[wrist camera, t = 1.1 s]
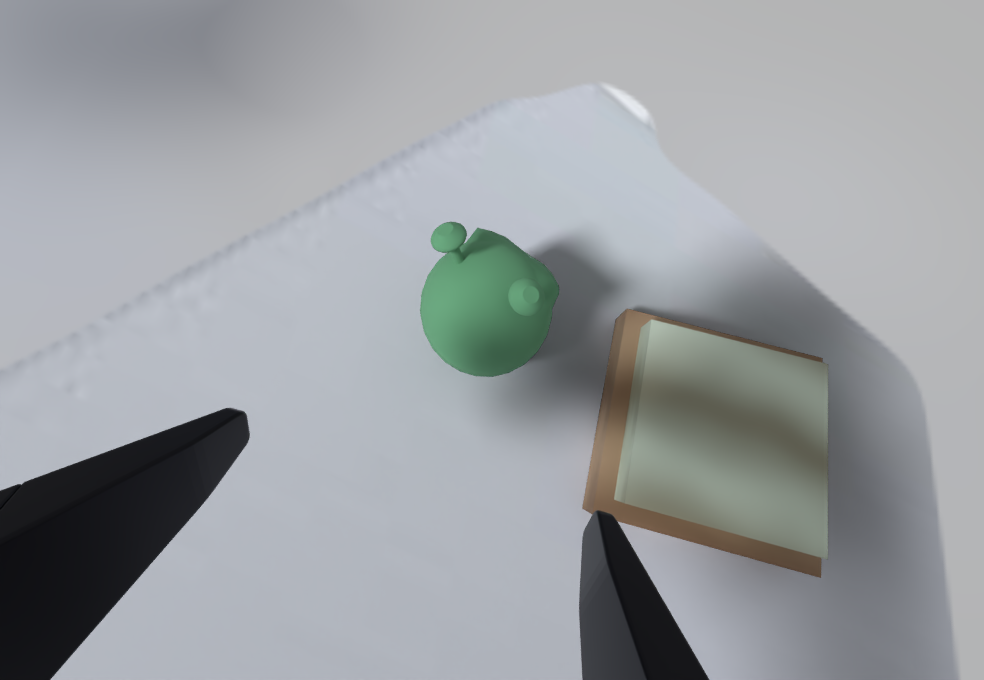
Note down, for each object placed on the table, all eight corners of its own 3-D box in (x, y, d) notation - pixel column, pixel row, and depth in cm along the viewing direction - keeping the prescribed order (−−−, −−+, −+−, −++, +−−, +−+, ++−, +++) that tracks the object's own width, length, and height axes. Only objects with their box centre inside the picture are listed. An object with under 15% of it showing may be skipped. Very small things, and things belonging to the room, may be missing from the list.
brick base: (790, 566, 21) (848, 588, 18) (582, 508, 22) (601, 519, 18) (795, 365, 24) (845, 352, 21) (615, 319, 25) (637, 299, 22)
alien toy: (565, 319, 25) (620, 238, 15) (493, 411, 23) (503, 384, 13) (483, 259, 26) (486, 147, 16) (408, 342, 24) (361, 270, 14)
